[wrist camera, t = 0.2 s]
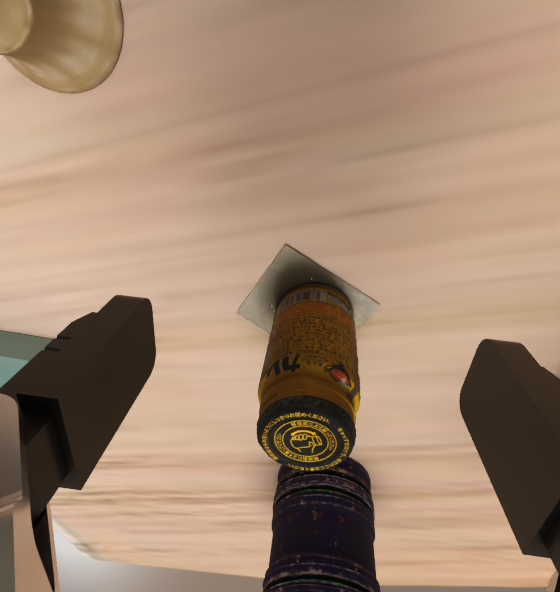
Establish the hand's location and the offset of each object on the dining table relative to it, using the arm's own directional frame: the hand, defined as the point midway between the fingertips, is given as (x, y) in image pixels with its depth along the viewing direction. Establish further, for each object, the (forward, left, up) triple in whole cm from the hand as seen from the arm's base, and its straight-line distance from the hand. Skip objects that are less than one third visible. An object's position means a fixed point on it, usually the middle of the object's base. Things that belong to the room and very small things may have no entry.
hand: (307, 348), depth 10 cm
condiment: (+10, 0, -18) cm, 21 cm away
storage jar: (+31, +5, -18) cm, 36 cm away
